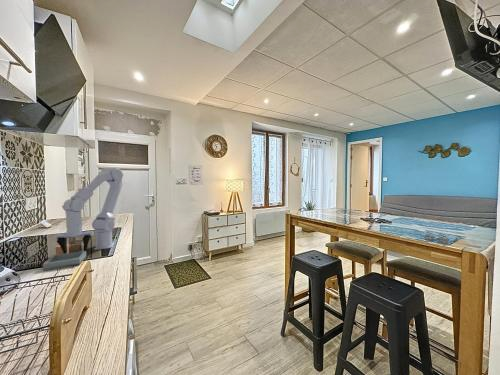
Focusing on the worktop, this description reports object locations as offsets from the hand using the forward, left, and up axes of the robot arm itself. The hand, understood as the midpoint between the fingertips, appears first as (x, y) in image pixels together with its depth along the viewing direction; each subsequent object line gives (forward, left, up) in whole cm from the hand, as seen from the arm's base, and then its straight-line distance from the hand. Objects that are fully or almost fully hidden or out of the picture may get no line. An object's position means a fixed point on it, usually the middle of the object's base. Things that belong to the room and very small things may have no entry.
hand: (75, 251), depth 102 cm
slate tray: (+9, -1, -2) cm, 9 cm away
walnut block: (0, 0, -2) cm, 2 cm away
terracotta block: (-4, -6, -2) cm, 7 cm away
